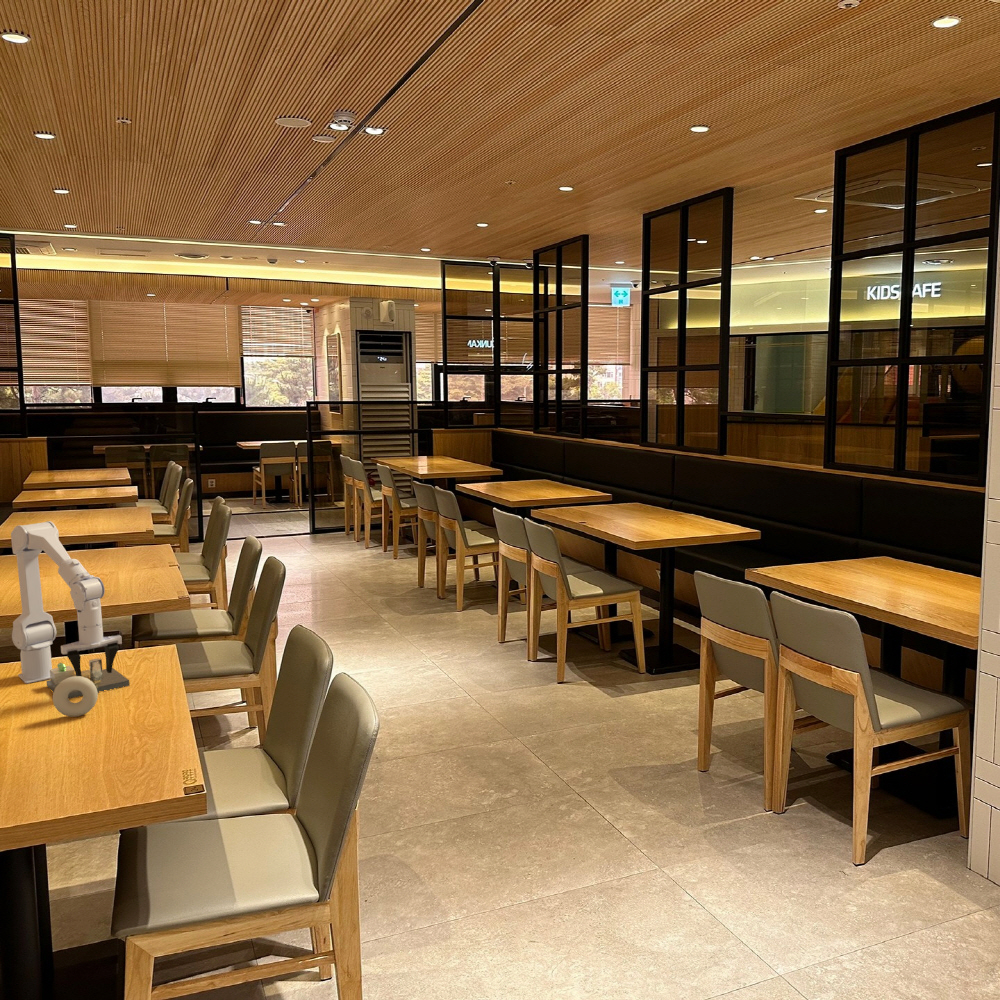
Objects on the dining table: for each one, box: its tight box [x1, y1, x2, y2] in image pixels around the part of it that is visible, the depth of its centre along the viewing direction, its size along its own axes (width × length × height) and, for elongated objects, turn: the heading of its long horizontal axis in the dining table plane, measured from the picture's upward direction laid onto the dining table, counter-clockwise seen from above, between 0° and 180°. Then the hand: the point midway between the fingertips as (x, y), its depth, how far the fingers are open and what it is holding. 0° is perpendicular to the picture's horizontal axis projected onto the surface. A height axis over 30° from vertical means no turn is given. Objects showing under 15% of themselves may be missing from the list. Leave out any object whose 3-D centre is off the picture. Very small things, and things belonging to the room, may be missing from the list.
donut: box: [52, 676, 99, 718], centre depth 217 cm, size 10×3×10 cm, turn 113°
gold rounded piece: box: [75, 658, 103, 683], centre depth 238 cm, size 12×6×7 cm, turn 44°
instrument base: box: [46, 662, 130, 699], centre depth 240 cm, size 15×17×6 cm
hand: (94, 675), depth 234 cm, fingers open, 7 cm apart
